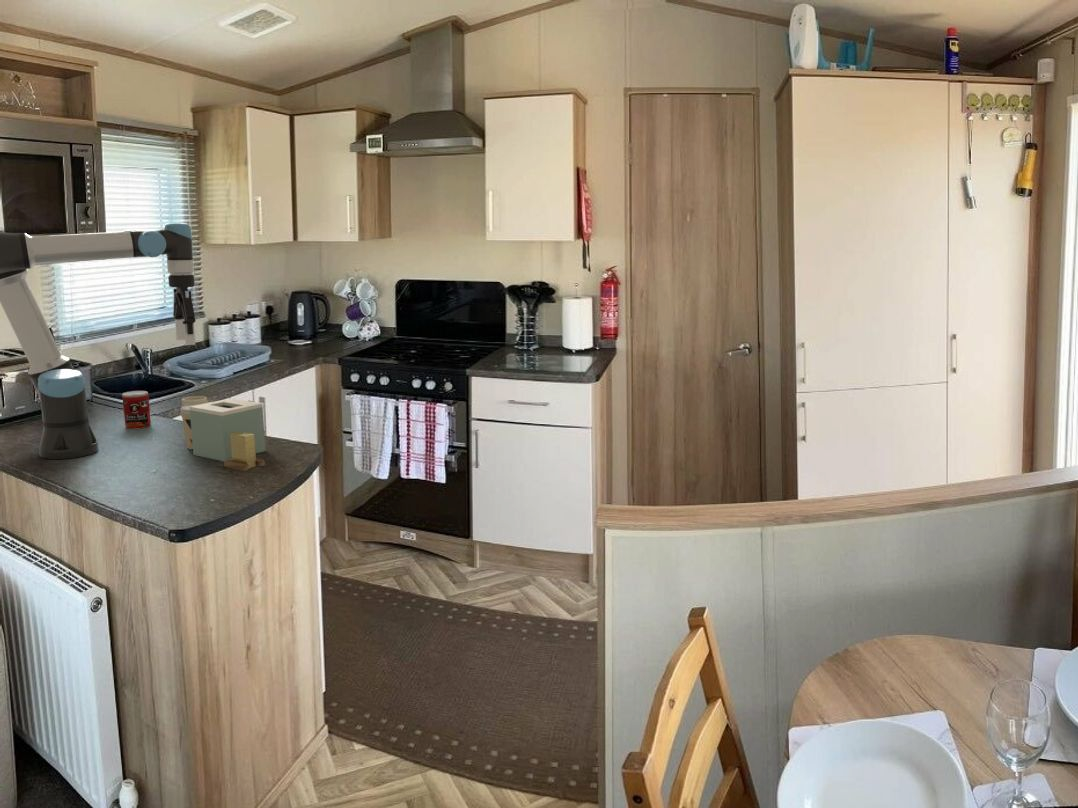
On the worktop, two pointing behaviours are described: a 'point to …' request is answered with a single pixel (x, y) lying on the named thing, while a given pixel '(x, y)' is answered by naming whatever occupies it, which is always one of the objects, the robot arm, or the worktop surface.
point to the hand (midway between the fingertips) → (185, 342)
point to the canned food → (136, 409)
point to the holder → (242, 464)
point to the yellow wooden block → (243, 448)
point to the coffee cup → (187, 425)
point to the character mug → (193, 401)
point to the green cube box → (225, 426)
